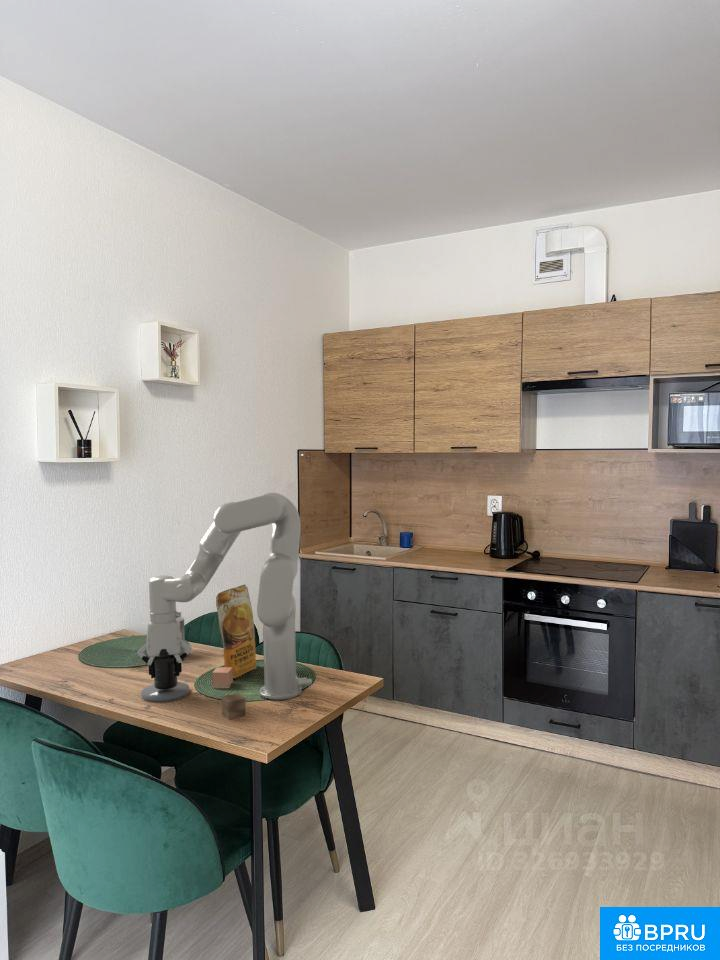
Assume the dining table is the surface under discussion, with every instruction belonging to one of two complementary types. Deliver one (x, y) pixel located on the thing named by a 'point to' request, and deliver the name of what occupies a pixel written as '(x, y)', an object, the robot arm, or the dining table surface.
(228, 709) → the walnut block
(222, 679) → the terracotta block
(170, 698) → the charcoal plate
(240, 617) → the pancake mix bag
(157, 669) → the supplement bottle
